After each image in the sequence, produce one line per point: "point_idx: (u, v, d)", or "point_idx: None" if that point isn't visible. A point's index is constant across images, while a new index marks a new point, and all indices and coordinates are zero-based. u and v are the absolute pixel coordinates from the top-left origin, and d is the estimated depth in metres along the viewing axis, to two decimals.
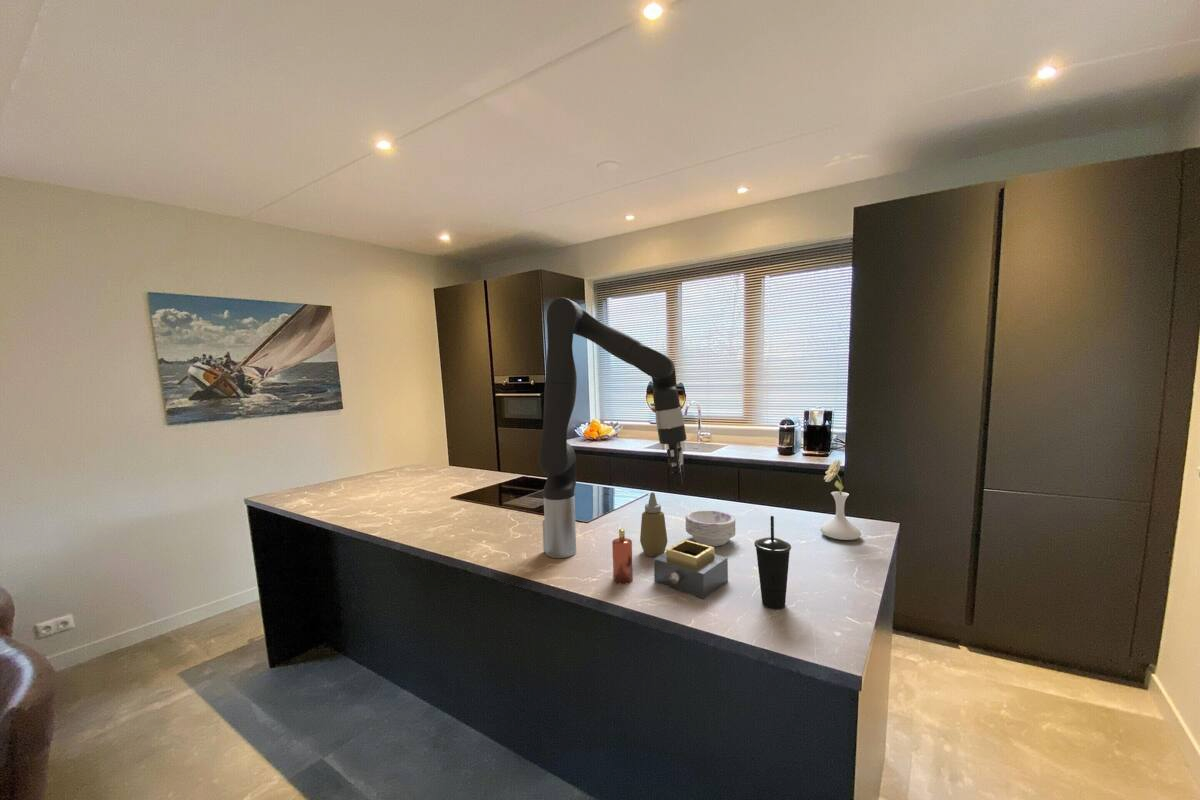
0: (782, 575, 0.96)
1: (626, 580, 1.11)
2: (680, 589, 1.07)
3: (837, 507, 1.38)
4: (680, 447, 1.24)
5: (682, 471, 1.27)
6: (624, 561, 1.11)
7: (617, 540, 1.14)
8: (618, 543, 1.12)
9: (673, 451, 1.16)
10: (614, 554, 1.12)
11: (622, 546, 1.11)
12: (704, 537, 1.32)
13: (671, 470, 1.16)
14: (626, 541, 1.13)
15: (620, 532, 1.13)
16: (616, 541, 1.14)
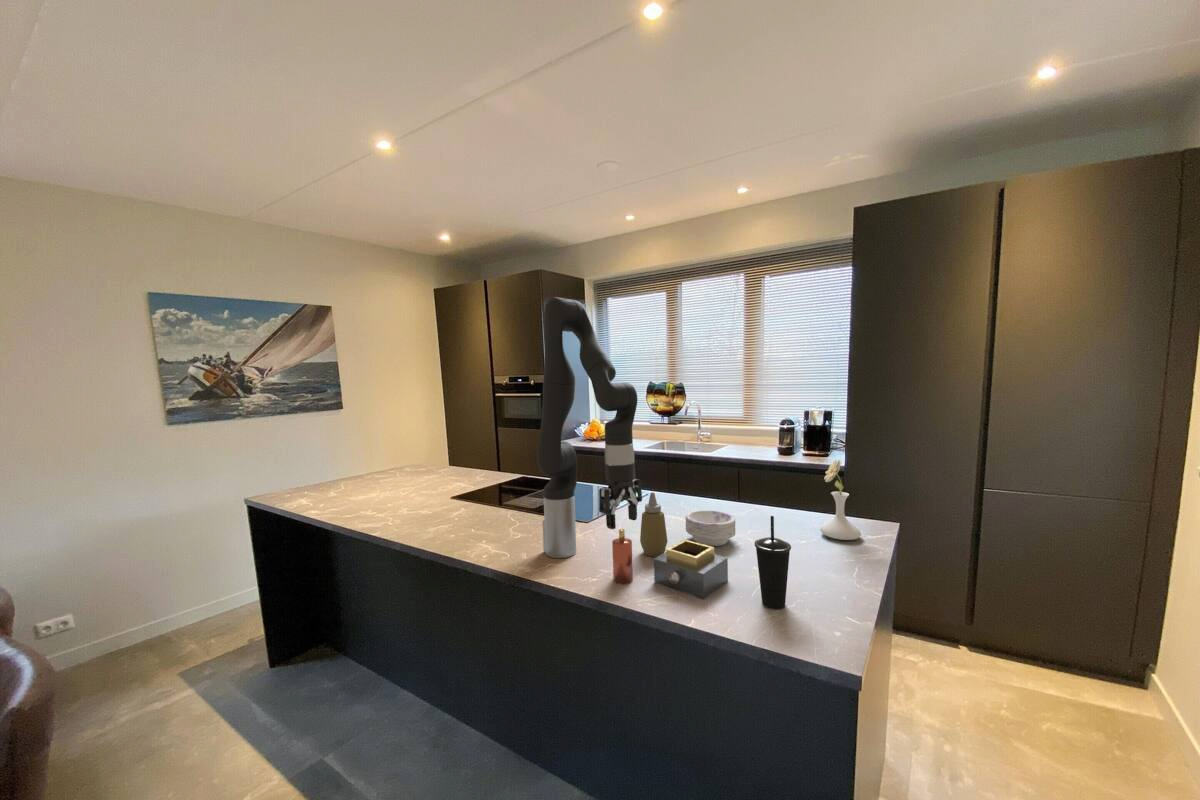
0: (782, 575, 0.96)
1: (626, 580, 1.11)
2: (680, 589, 1.07)
3: (837, 507, 1.38)
4: (628, 487, 1.13)
5: (633, 512, 1.16)
6: (624, 561, 1.11)
7: (617, 540, 1.14)
8: (618, 543, 1.12)
9: (604, 491, 1.08)
10: (614, 554, 1.12)
11: (622, 546, 1.11)
12: (704, 537, 1.32)
13: (600, 510, 1.08)
14: (626, 541, 1.13)
15: (620, 532, 1.13)
16: (616, 541, 1.14)
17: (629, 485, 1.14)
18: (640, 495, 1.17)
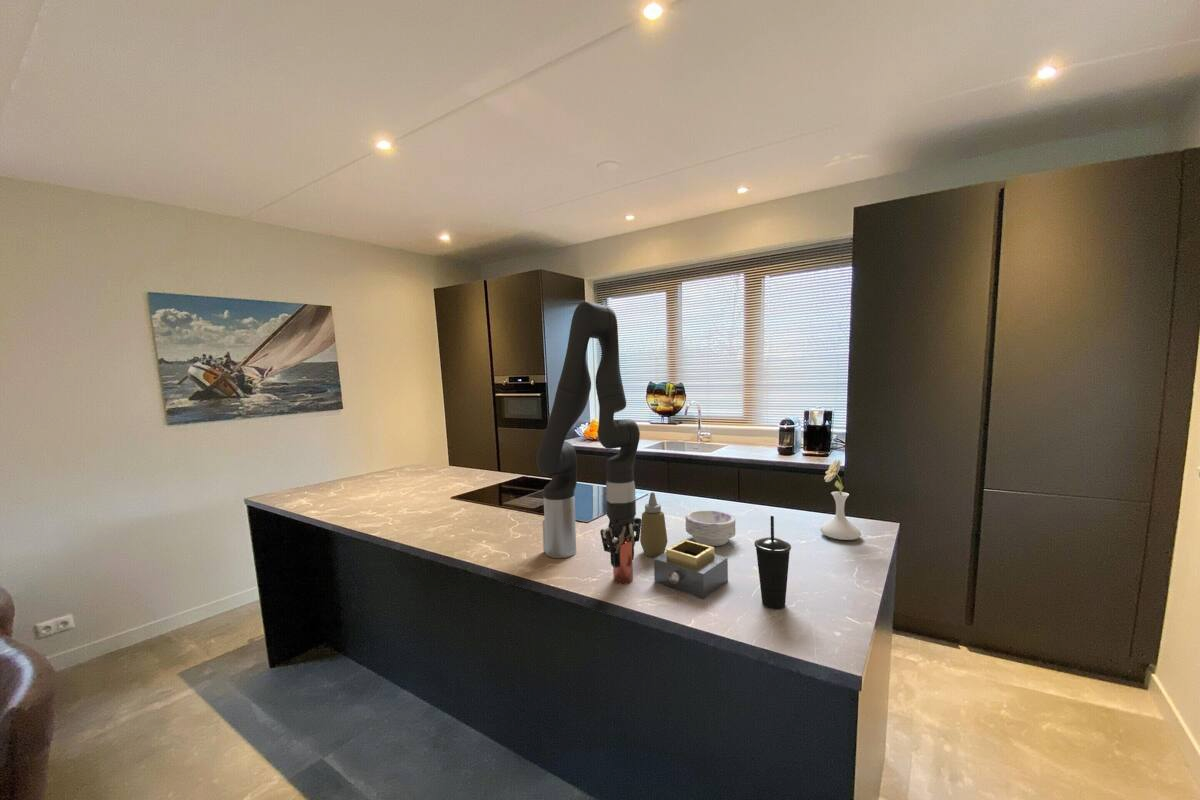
0: (782, 575, 0.96)
1: (626, 580, 1.11)
2: (680, 589, 1.07)
3: (837, 507, 1.38)
4: (629, 523, 1.13)
5: None
6: (624, 561, 1.11)
7: None
8: None
9: (605, 534, 1.08)
10: None
11: (622, 546, 1.11)
12: (704, 537, 1.32)
13: (605, 550, 1.10)
14: (626, 541, 1.13)
15: None
16: None
17: (630, 520, 1.14)
18: (638, 535, 1.16)
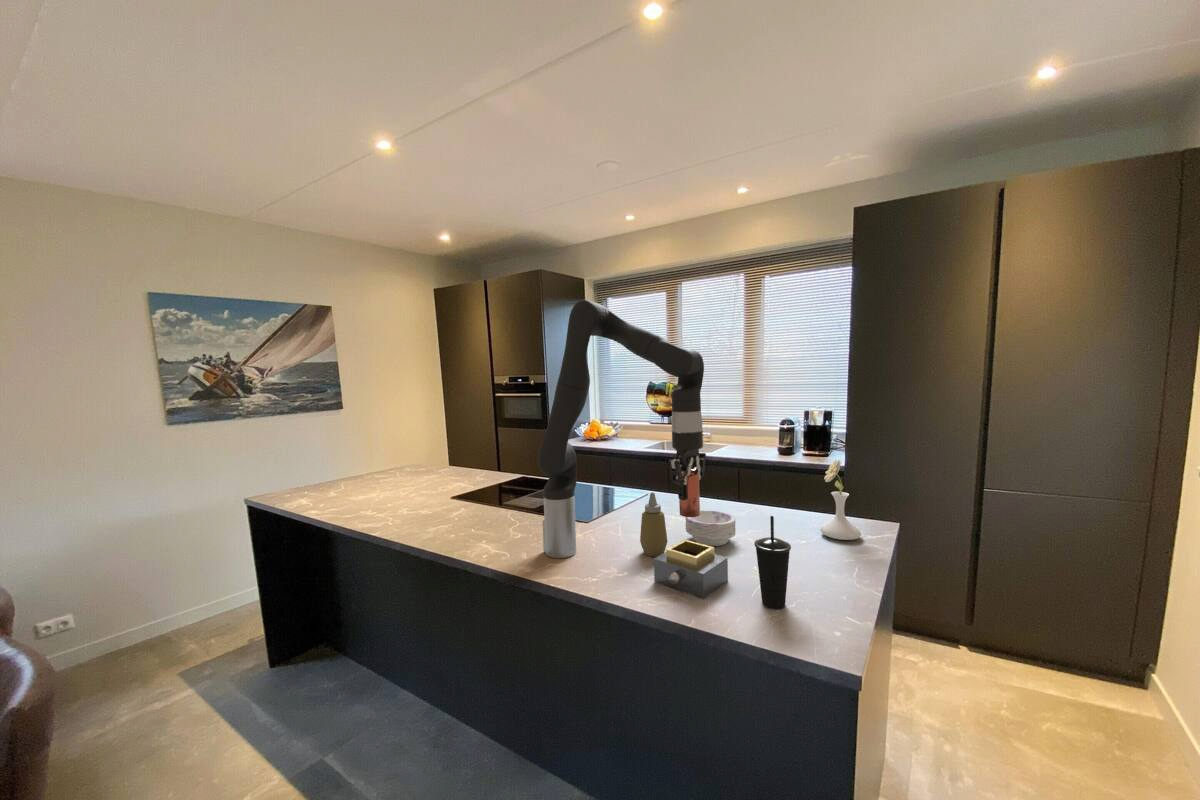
0: (782, 575, 0.96)
1: (694, 513, 1.08)
2: (680, 589, 1.07)
3: (837, 507, 1.38)
4: (696, 455, 1.10)
5: None
6: (692, 494, 1.08)
7: None
8: None
9: (674, 463, 1.05)
10: None
11: (690, 478, 1.08)
12: (704, 537, 1.32)
13: (673, 481, 1.07)
14: (693, 474, 1.10)
15: None
16: None
17: (696, 453, 1.11)
18: (703, 469, 1.13)
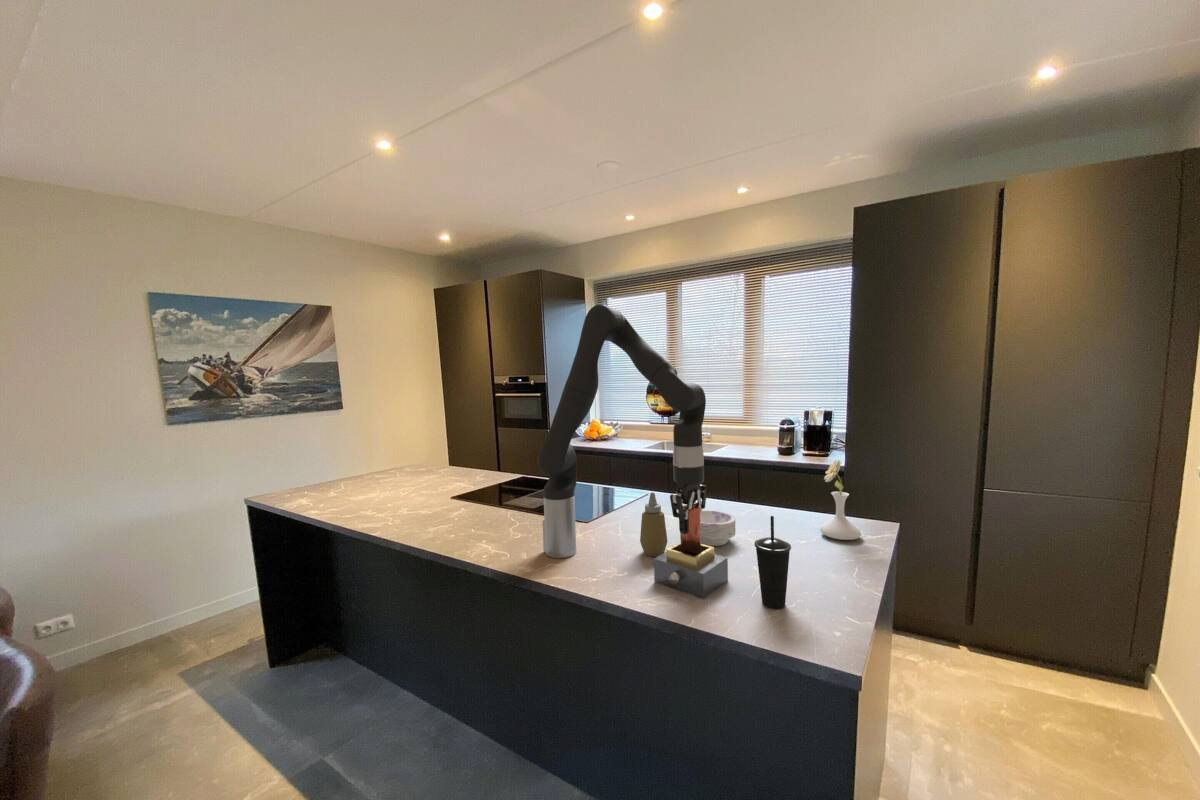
0: (782, 575, 0.96)
1: (695, 547, 1.09)
2: (680, 589, 1.07)
3: (837, 507, 1.38)
4: (697, 489, 1.10)
5: None
6: (693, 528, 1.09)
7: None
8: None
9: (675, 498, 1.05)
10: None
11: (691, 512, 1.08)
12: (704, 537, 1.32)
13: (674, 516, 1.07)
14: (694, 507, 1.11)
15: None
16: None
17: (697, 486, 1.11)
18: (704, 502, 1.14)
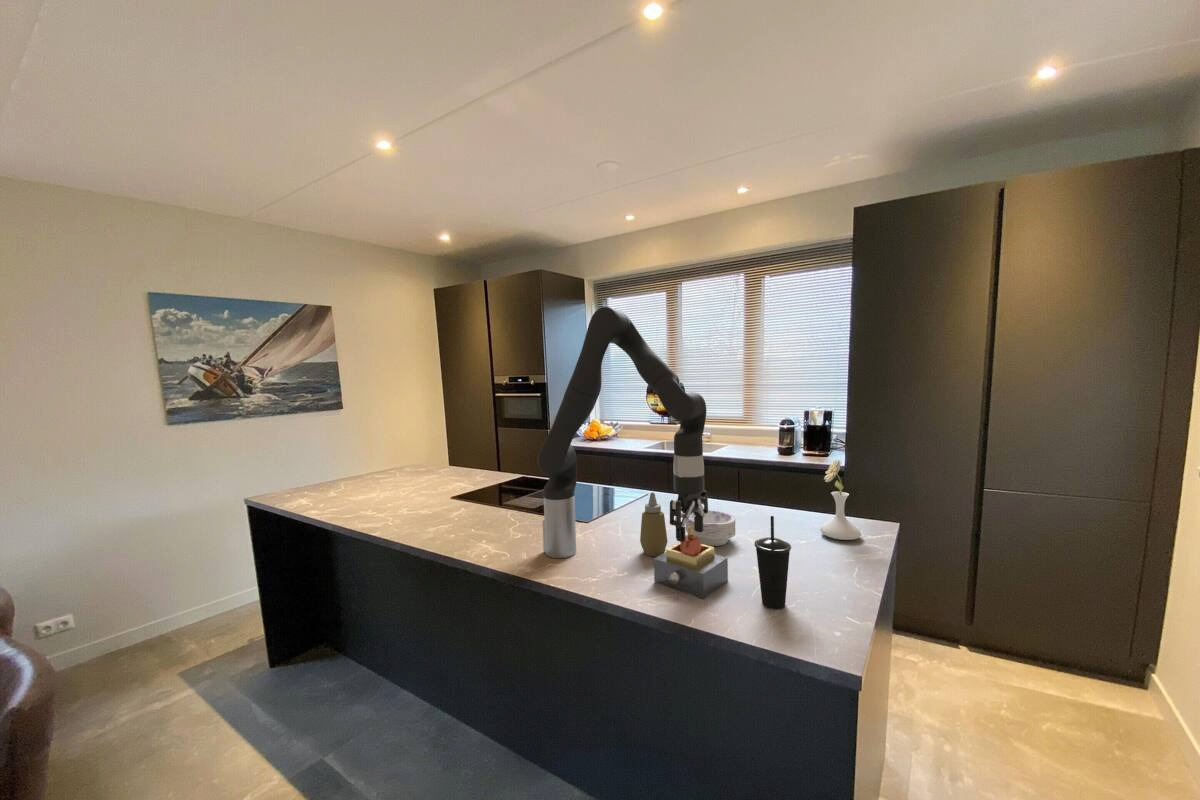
0: (782, 575, 0.96)
1: None
2: (680, 589, 1.07)
3: (837, 507, 1.38)
4: (697, 498, 1.10)
5: (700, 524, 1.13)
6: None
7: (685, 537, 1.12)
8: (687, 540, 1.10)
9: (675, 503, 1.05)
10: (683, 551, 1.10)
11: (692, 544, 1.09)
12: (704, 537, 1.32)
13: (670, 523, 1.06)
14: (695, 538, 1.11)
15: (689, 529, 1.10)
16: None
17: (697, 497, 1.11)
18: (706, 507, 1.15)
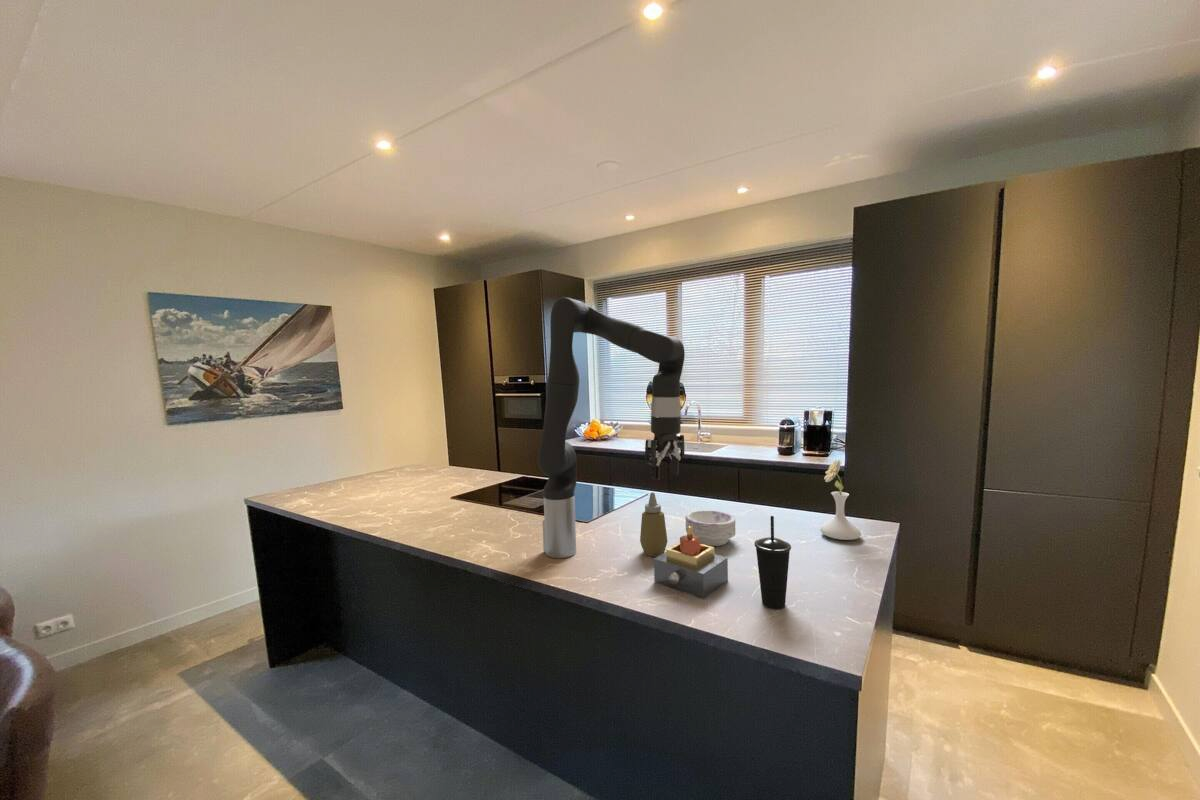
0: (782, 575, 0.96)
1: None
2: (680, 589, 1.07)
3: (837, 507, 1.38)
4: (673, 440, 1.13)
5: (676, 466, 1.16)
6: None
7: (684, 537, 1.12)
8: (687, 540, 1.10)
9: (650, 442, 1.08)
10: (683, 551, 1.10)
11: (691, 544, 1.09)
12: (704, 537, 1.32)
13: (645, 461, 1.09)
14: (694, 538, 1.11)
15: (688, 529, 1.10)
16: (684, 538, 1.11)
17: (673, 439, 1.14)
18: (683, 450, 1.17)
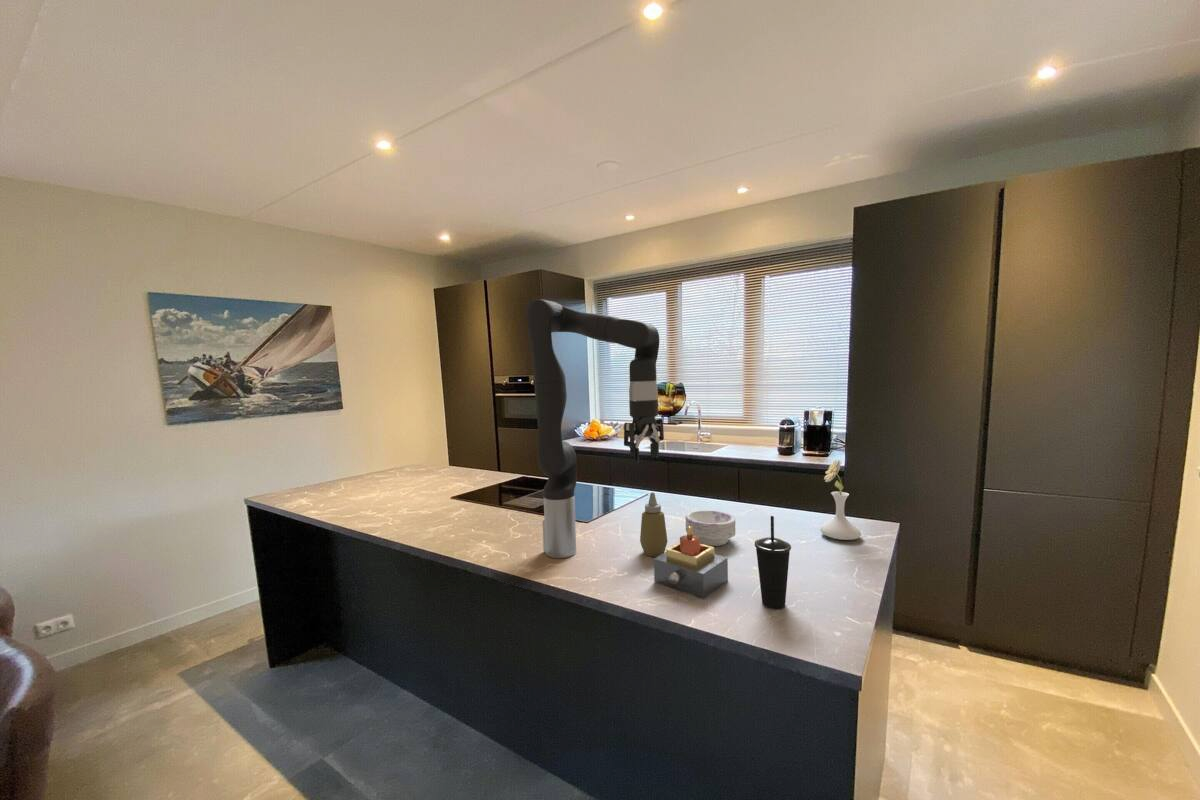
0: (782, 575, 0.96)
1: None
2: (680, 589, 1.07)
3: (837, 507, 1.38)
4: (651, 423, 1.16)
5: (656, 449, 1.19)
6: None
7: (684, 537, 1.12)
8: (687, 540, 1.10)
9: (629, 425, 1.11)
10: (682, 551, 1.10)
11: (691, 544, 1.09)
12: (704, 537, 1.32)
13: (624, 444, 1.12)
14: (694, 538, 1.11)
15: (688, 529, 1.10)
16: (684, 538, 1.11)
17: (652, 422, 1.17)
18: (662, 434, 1.21)
